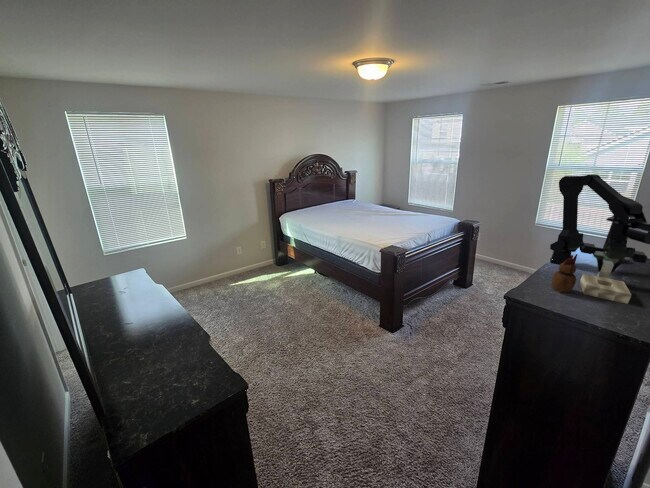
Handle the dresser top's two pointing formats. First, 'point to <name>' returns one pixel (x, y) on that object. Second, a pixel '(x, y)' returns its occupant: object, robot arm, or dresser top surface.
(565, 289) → the wooden figurine
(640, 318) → the dresser top surface
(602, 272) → the pin
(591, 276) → the hole block
